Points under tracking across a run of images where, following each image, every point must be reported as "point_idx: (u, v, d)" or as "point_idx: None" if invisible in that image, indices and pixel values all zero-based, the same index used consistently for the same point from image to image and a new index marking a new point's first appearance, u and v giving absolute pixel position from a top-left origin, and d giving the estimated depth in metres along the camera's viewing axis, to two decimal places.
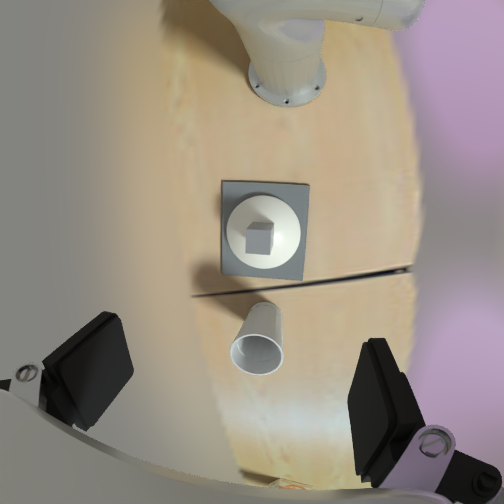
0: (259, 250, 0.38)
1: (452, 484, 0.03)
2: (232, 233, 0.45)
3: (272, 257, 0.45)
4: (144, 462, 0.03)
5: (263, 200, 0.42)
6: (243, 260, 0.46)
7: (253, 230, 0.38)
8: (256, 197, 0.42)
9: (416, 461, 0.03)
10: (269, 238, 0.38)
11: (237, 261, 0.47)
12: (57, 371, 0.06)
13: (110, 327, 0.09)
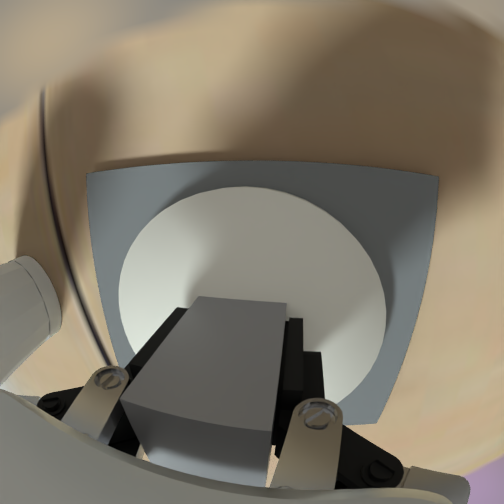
0: (156, 448, 0.06)
1: (337, 463, 0.04)
2: (233, 213, 0.10)
3: None
4: (144, 462, 0.03)
5: (367, 340, 0.10)
6: (130, 260, 0.11)
7: (263, 453, 0.05)
8: (381, 318, 0.10)
9: (304, 436, 0.05)
10: None
11: (128, 227, 0.12)
12: None
13: None
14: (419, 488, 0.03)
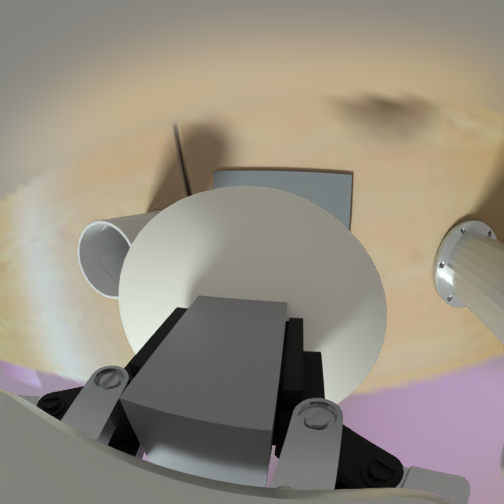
0: (157, 448, 0.06)
1: (337, 463, 0.04)
2: (233, 212, 0.10)
3: None
4: (144, 462, 0.03)
5: (367, 340, 0.10)
6: (130, 259, 0.11)
7: (263, 453, 0.05)
8: (382, 318, 0.10)
9: (304, 436, 0.05)
10: None
11: None
12: None
13: None
14: (419, 488, 0.03)
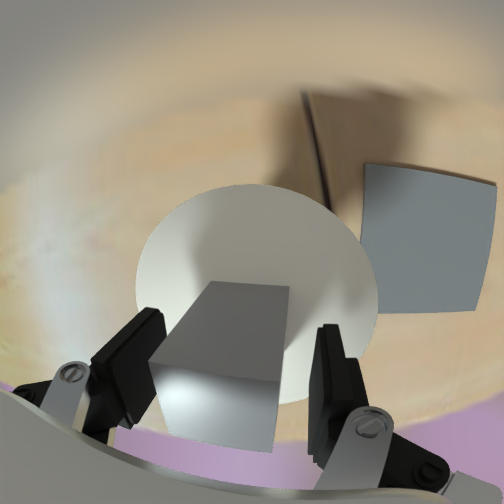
0: (176, 411, 0.07)
1: (390, 469, 0.04)
2: (243, 207, 0.11)
3: None
4: (144, 462, 0.03)
5: (361, 321, 0.12)
6: (148, 249, 0.12)
7: (272, 407, 0.06)
8: (374, 301, 0.11)
9: (354, 444, 0.04)
10: (238, 446, 0.07)
11: (391, 196, 0.21)
12: (108, 368, 0.07)
13: (155, 322, 0.09)
14: (459, 493, 0.02)
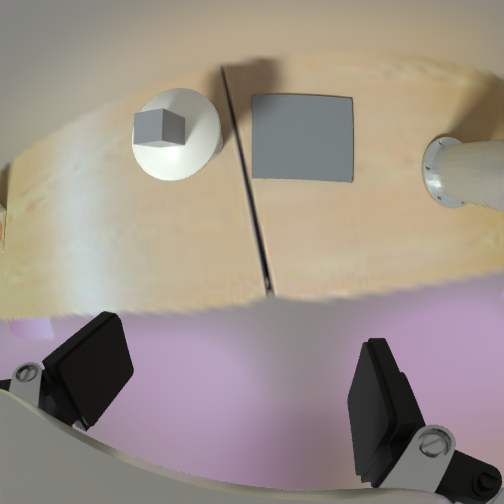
0: (137, 129, 0.25)
1: (452, 484, 0.03)
2: (171, 95, 0.29)
3: (144, 148, 0.31)
4: (144, 462, 0.03)
5: (212, 128, 0.29)
6: None
7: (161, 117, 0.24)
8: (216, 119, 0.29)
9: (416, 461, 0.03)
10: (152, 140, 0.25)
11: (268, 109, 0.39)
12: (57, 371, 0.06)
13: (110, 327, 0.09)
14: None
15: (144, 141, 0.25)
